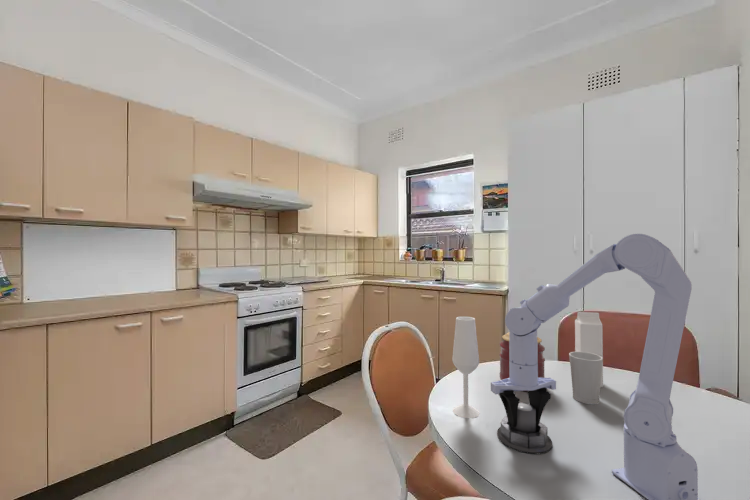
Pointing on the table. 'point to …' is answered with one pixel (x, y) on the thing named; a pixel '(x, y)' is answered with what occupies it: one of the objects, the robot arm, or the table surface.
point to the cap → (525, 418)
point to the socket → (525, 438)
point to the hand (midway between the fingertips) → (523, 423)
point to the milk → (589, 335)
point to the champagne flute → (465, 359)
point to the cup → (586, 376)
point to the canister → (505, 358)
